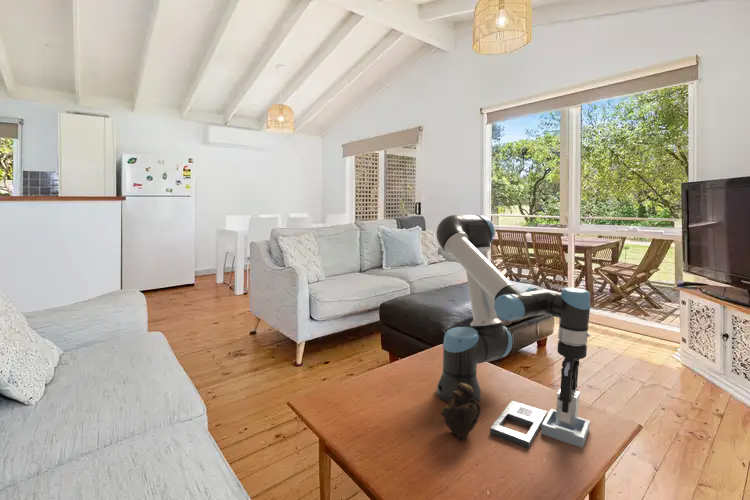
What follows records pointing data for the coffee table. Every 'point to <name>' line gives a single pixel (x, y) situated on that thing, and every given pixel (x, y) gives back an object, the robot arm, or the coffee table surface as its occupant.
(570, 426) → the knob block
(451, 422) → the sculpture
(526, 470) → the coffee table surface
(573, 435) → the tray
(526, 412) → the grey slotted plate
